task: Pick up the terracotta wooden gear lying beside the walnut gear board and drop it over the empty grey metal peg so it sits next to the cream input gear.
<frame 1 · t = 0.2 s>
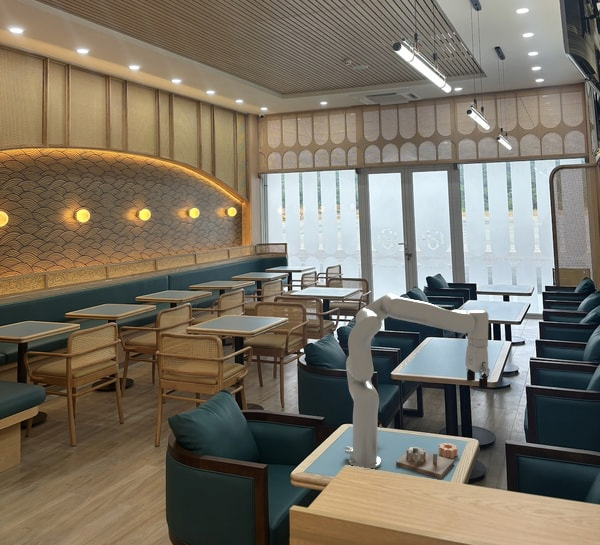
hand: (476, 384, 206), 30 cm above the table, tool pointing down, fingers open, 9 cm apart
grandmother figurine: (373, 439, 228), on the table
terracotta gear: (447, 454, 213), on the table
gear board: (425, 464, 204), on the table
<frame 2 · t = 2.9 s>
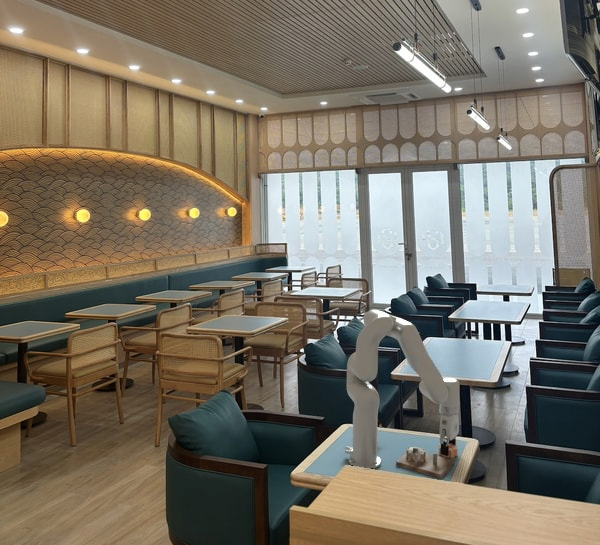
hand: (448, 451, 213), 1 cm above the table, tool pointing down, fingers closed on terracotta gear, 7 cm apart
terracotta gear: (447, 454, 213), on the table, touching gripper
everything else where it was.
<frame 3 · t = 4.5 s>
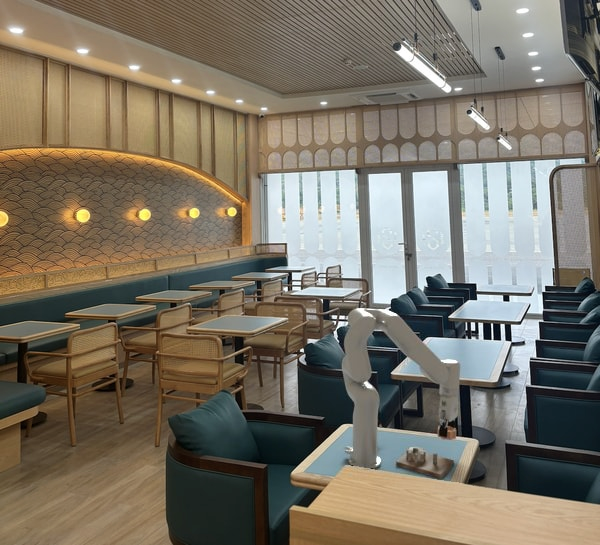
hand: (446, 433, 212), 9 cm above the table, tool pointing down, fingers closed on terracotta gear, 7 cm apart
terracotta gear: (446, 436, 212), point 8 cm above the table, touching gripper
everything else where it was.
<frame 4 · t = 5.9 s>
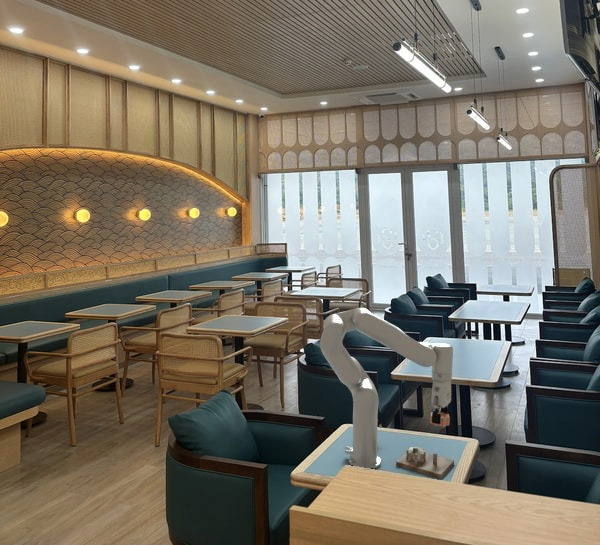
hand: (439, 419, 204), 17 cm above the table, tool pointing down, fingers closed on terracotta gear, 7 cm apart
terracotta gear: (439, 423, 204), point 16 cm above the table, touching gripper
everything else where it was.
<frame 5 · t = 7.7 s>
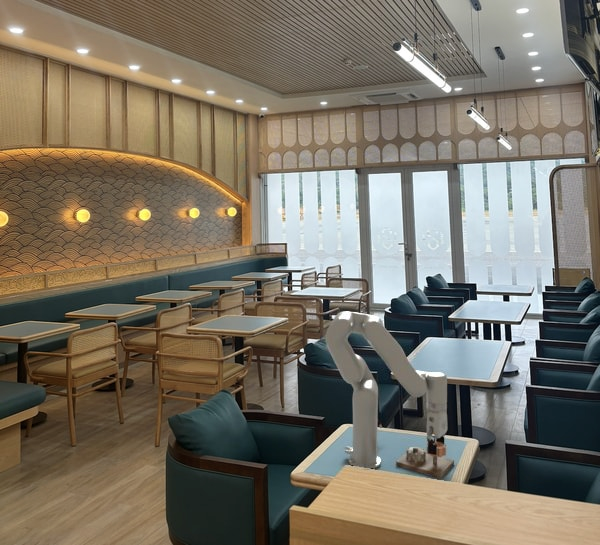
hand: (436, 449, 201), 7 cm above the table, tool pointing down, fingers closed on terracotta gear, 7 cm apart
terracotta gear: (436, 453, 201), point 6 cm above the table, touching gripper
everything else where it was.
when the fingers open (4 cm above the table, at t = 8.9 s): terracotta gear stays where it is, resting on gear board.
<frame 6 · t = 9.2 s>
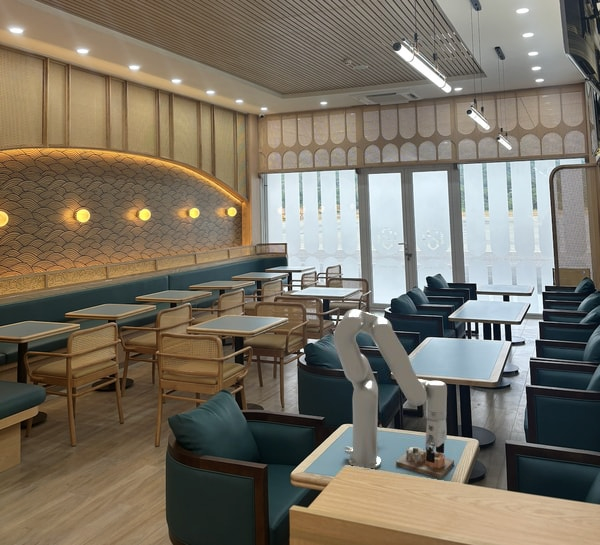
hand: (435, 456, 201), 4 cm above the table, tool pointing down, fingers open, 9 cm apart
terracotta gear: (435, 463, 201), point 1 cm above the table, touching gear board
everything else where it was.
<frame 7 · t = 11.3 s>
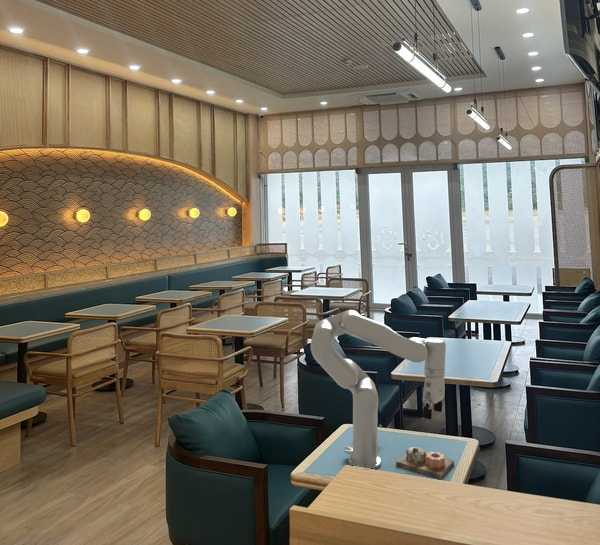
hand: (432, 414, 202), 20 cm above the table, tool pointing down, fingers open, 9 cm apart
nothing on the table moved.
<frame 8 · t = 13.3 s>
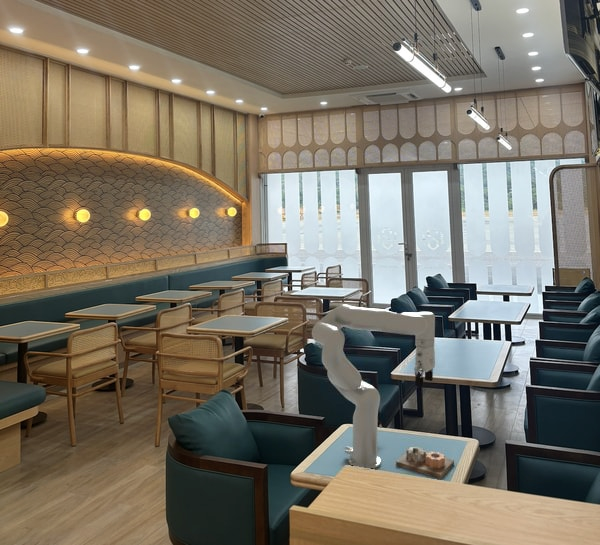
hand: (424, 383, 214), 28 cm above the table, tool pointing down, fingers open, 9 cm apart
nothing on the table moved.
at the end: terracotta gear 0.1 cm from the target spot on the gear board, point 1.5 cm above the gear board's base; terracotta gear tilted 0°; the gripper is holding nothing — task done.
